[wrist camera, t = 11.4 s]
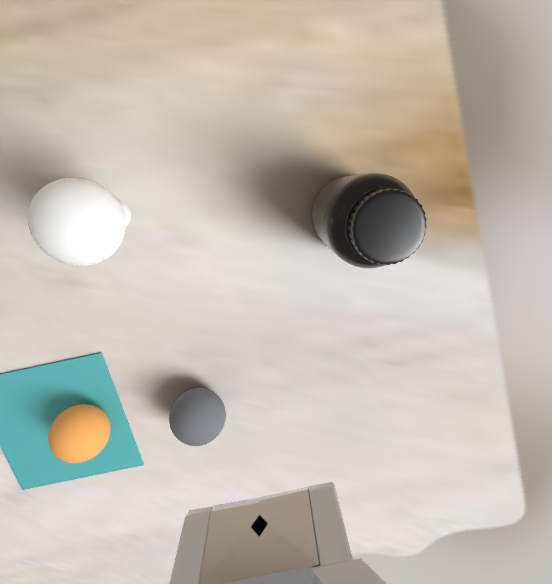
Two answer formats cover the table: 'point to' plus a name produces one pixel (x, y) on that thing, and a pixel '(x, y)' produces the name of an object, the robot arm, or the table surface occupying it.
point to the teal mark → (48, 406)
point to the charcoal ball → (197, 416)
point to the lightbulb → (77, 221)
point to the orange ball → (79, 433)
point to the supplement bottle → (369, 219)
